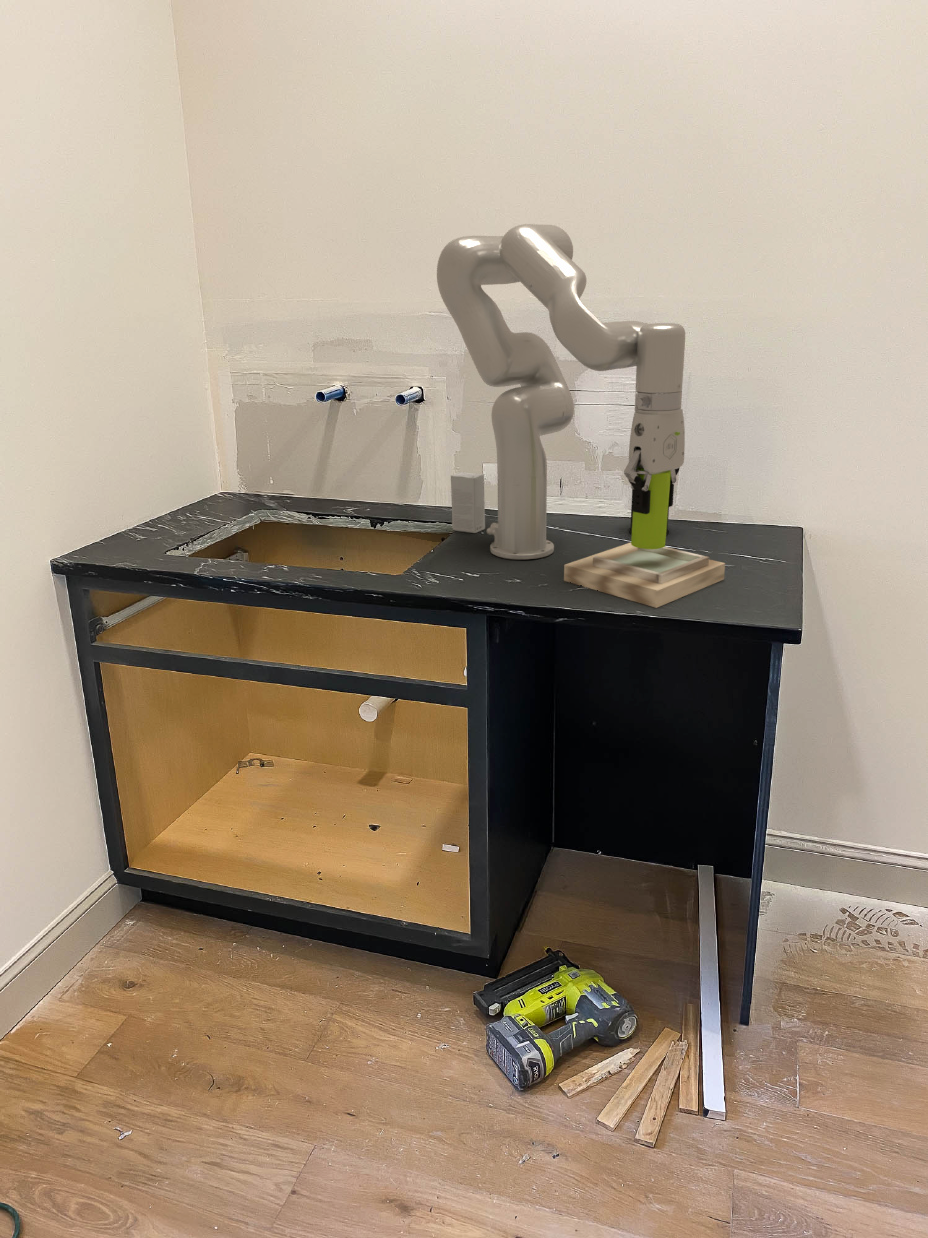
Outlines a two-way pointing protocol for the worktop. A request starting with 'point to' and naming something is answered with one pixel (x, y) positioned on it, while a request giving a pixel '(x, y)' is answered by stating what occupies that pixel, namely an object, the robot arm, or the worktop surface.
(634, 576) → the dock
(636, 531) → the soap dispenser
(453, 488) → the skincare box
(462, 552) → the worktop surface
